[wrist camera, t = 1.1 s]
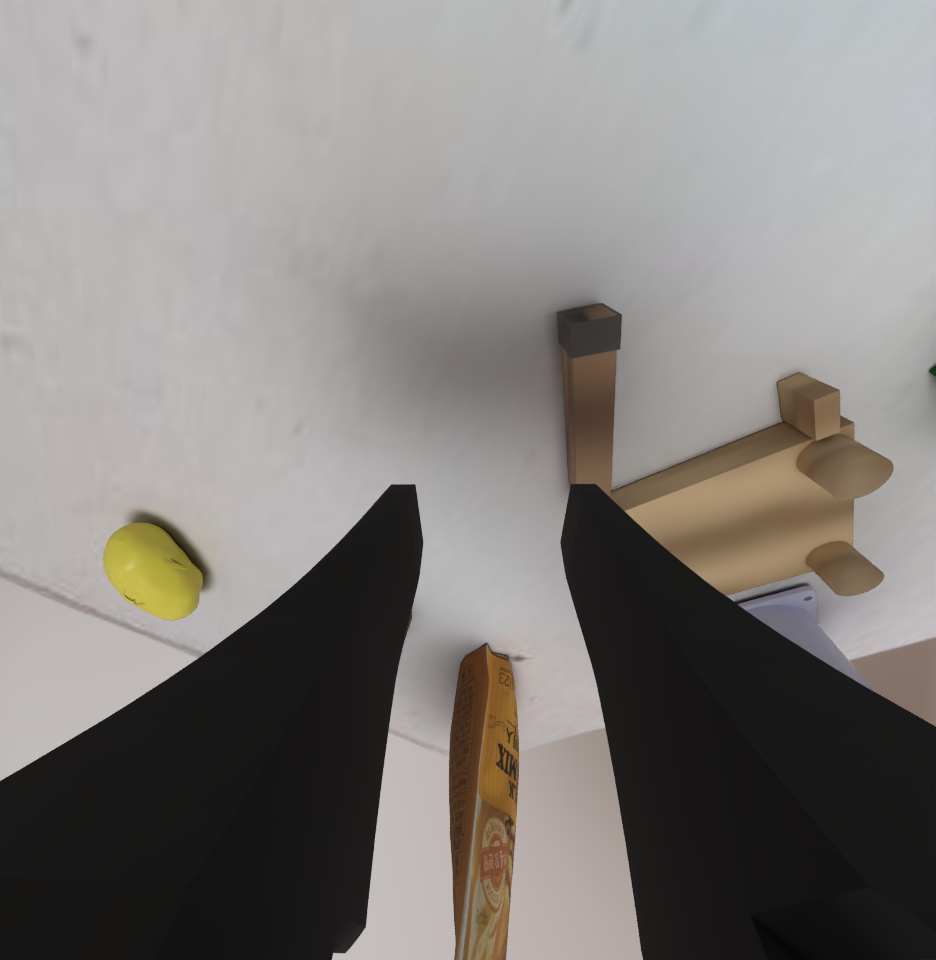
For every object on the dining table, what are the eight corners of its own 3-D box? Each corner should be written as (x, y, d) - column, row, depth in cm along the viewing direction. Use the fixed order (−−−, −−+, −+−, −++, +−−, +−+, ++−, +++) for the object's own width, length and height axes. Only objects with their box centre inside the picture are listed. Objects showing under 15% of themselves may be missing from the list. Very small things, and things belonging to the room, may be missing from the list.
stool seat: (827, 538, 22) (884, 588, 19) (624, 599, 26) (644, 649, 23) (820, 363, 16) (902, 395, 13) (556, 479, 20) (570, 525, 17)
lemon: (181, 512, 22) (131, 558, 19) (226, 591, 27) (192, 639, 24) (115, 509, 22) (55, 555, 19) (172, 588, 27) (131, 636, 24)
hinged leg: (599, 474, 19) (613, 502, 17) (566, 479, 19) (575, 507, 17) (602, 302, 14) (621, 314, 12) (557, 312, 15) (569, 325, 13)
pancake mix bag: (456, 727, 41) (424, 1368, 18) (433, 634, 30) (275, 2010, 7) (514, 727, 40) (560, 1386, 17) (514, 633, 29) (638, 2107, 6)
